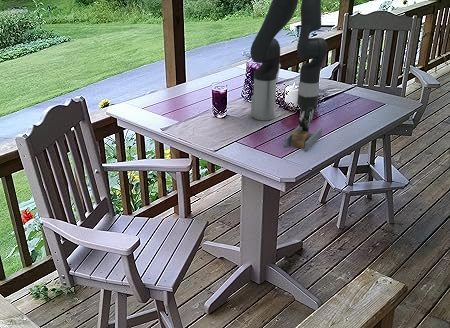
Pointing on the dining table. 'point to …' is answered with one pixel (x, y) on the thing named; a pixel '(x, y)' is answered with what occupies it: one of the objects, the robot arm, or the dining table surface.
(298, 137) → the block
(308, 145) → the channel
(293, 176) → the dining table surface
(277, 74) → the smoothie
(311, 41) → the robot arm
